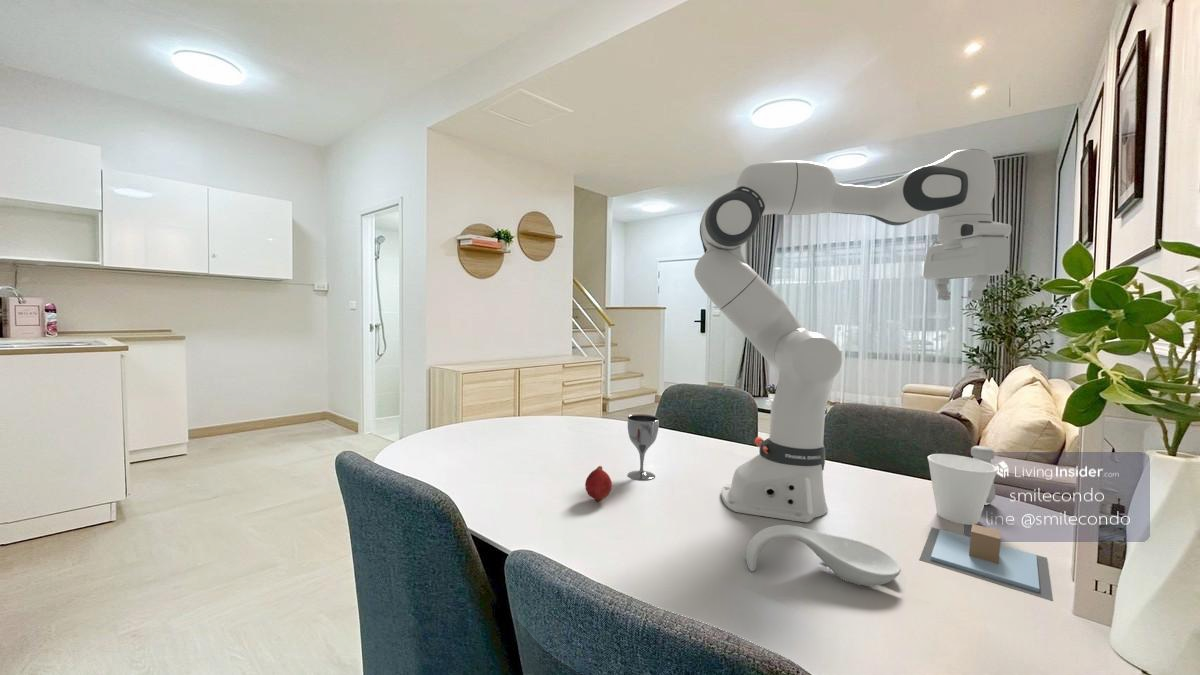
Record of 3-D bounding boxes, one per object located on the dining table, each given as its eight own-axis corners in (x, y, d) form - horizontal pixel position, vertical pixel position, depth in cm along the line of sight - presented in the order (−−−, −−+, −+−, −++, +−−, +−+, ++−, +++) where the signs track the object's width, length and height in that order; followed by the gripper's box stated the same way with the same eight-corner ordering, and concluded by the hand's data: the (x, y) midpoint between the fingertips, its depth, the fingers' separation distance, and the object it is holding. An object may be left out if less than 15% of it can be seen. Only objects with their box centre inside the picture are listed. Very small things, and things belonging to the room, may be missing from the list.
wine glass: (621, 471, 126) (623, 414, 125) (650, 469, 128) (652, 413, 127) (631, 482, 118) (633, 422, 117) (661, 479, 120) (663, 421, 119)
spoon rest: (878, 560, 85) (881, 521, 84) (914, 601, 73) (917, 555, 73) (740, 550, 87) (742, 511, 87) (754, 587, 76) (756, 543, 75)
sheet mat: (1052, 604, 73) (1053, 600, 73) (918, 563, 84) (919, 559, 84) (1046, 561, 85) (1047, 557, 85) (931, 530, 97) (931, 527, 96)
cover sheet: (1039, 592, 75) (1042, 561, 74) (930, 559, 84) (932, 531, 83) (1035, 557, 85) (1038, 530, 85) (939, 532, 94) (941, 507, 94)
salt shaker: (1000, 508, 108) (1005, 452, 107) (971, 506, 109) (976, 449, 108) (985, 498, 114) (989, 444, 113) (958, 496, 115) (962, 442, 114)
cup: (910, 511, 105) (914, 455, 105) (949, 505, 109) (953, 451, 108) (965, 536, 94) (970, 474, 93) (1007, 529, 98) (1012, 469, 97)
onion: (587, 507, 103) (588, 470, 102) (583, 496, 109) (583, 462, 108) (613, 505, 104) (614, 469, 104) (608, 495, 110) (609, 461, 109)
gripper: (917, 239, 109) (913, 300, 110) (983, 224, 89) (977, 299, 90) (946, 239, 109) (942, 300, 110) (1019, 224, 89) (1012, 299, 90)
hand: (958, 300), depth 100 cm, fingers open, 8 cm apart
